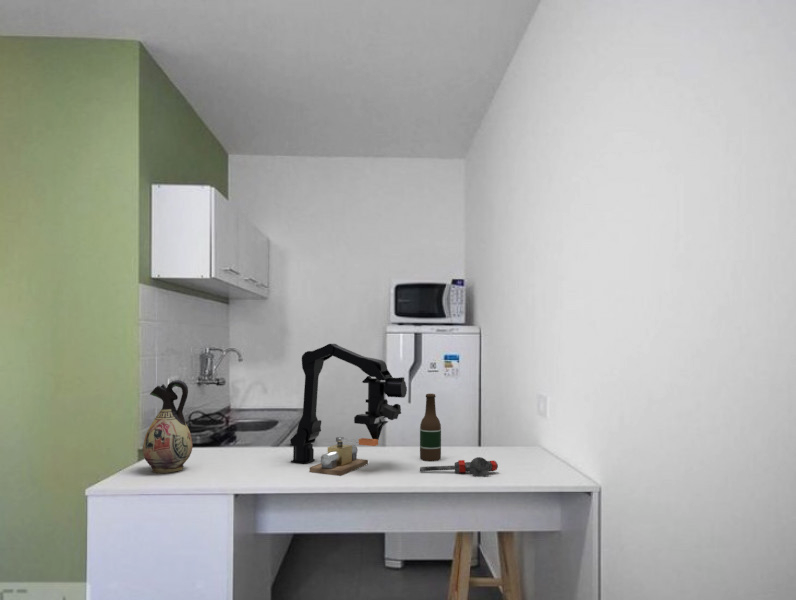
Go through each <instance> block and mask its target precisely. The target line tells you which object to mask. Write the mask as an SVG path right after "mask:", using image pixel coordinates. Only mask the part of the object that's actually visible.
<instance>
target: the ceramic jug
mask: <svg viewBox="0 0 796 600" xmlns="http://www.w3.org/2000/svg"><path fill="white" fill-rule="evenodd" d="M176 387H178V388H180V389H181V392H182V393H181V397H180V401H179V404H178V407H177V408H176V406H175V402H174V401H177V400H178V399H179V397H178V395H177V394H176V392H175V391H174V390H173V389H174V388H176ZM188 393H189V387H188V385H187V383H185V382H184V381H182V380H179V379H176V380H172V381H170V382H169V383H168V384H167V385H165V384H161V385H157V386H155V388H153V389H152V390H151V392H150V393H149V395H151V396H153V397H156V398H157V399H160V400H161V401H162V408H161V409H160V410H159V412H158V414H157V415H156V416H155V418H154V420H153V421H152V422H151V424H150V426H149V427H148V429H147V431H146V433H145V437H144V440H143V444H142V453H143V454H142V455H143V458H144V460H145V461H146V463H147V464H148V465H149V466H150V468H151V469H152V473H155V474H167V473H168V474H169V473H176V472H180V471H182V470H183V469H184V464H185V463H186V462H187V460H188V459H189V458H190V456H191V454H192V452H193V438H192V433H191V431H190V429H189V426H188V425H187V423H186V420H185V417H184V413H183V411H184V407H185V404H186V401H187V399H188Z"/></svg>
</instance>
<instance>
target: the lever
mask: <svg viewBox="0 0 796 600" xmlns="http://www.w3.org/2000/svg"><path fill="white" fill-rule="evenodd" d="M335 442H343V443H352V444H353V443H354V444H358V445H360V446H369V447H376V446H379V440H378V439H372V438H365V437H362V438H350V437H343V436H342V437H341V436H336V437H335Z"/></svg>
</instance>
